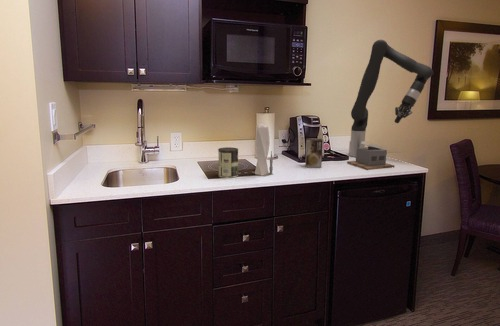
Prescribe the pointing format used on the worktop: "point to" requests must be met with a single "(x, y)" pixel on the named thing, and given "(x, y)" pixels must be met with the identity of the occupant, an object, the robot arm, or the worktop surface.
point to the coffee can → (228, 162)
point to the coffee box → (313, 152)
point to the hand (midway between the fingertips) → (396, 122)
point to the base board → (369, 166)
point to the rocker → (371, 145)
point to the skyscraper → (262, 150)
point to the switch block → (371, 156)
